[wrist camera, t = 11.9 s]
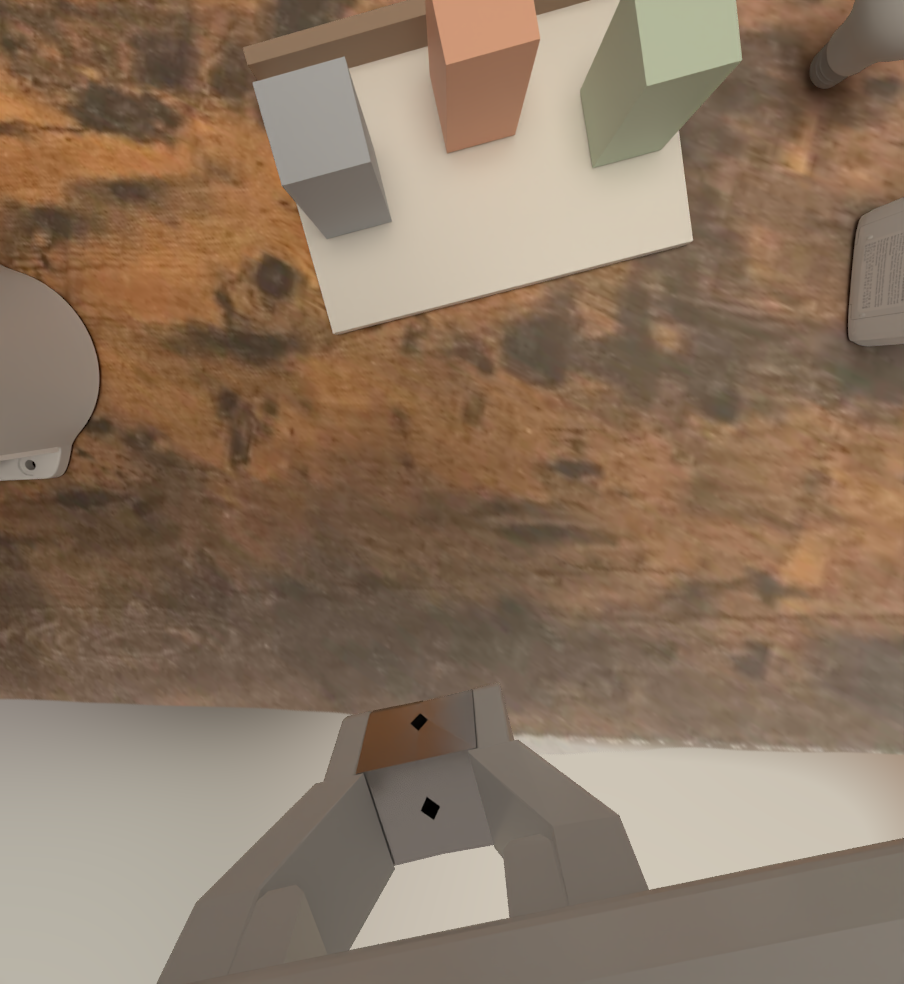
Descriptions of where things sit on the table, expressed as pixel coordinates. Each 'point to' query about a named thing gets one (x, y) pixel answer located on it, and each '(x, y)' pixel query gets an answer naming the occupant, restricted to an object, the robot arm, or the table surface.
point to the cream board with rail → (478, 173)
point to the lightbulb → (861, 42)
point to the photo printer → (878, 278)
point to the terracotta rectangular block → (480, 66)
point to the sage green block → (655, 73)
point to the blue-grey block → (324, 147)
